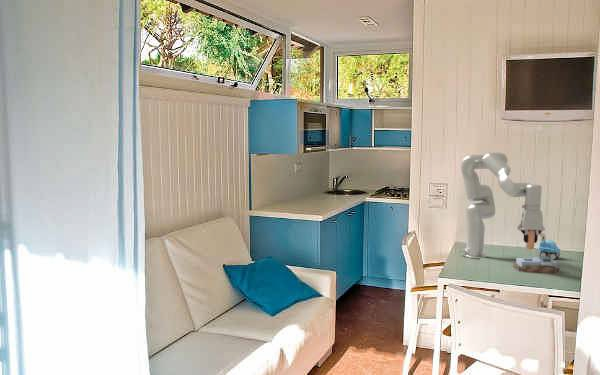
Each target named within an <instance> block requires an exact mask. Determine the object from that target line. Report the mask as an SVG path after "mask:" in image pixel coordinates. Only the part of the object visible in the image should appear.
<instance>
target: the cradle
mask: <svg viewBox="0 0 600 375" xmlns="http://www.w3.org/2000/svg"><path fill="white" fill-rule="evenodd" d="M512 267H513V268H514V269H515V270H516V271H517V272H519V273H530V274H531V273H537V274H557V275H558V274H562V273H561V272H560V268H559V267H558V266H557V270H556V267H552V266H524V268H523V271H521V267H520V266H518V265H517V264H516V262H513V263H512Z"/></svg>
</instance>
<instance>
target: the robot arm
mask: <svg viewBox="0 0 600 375" xmlns="http://www.w3.org/2000/svg"><path fill="white" fill-rule="evenodd" d="M487 169H488V170H489V171H490V172H491V173H492V174H494V176H496V178H497V183H498V186H499V188H500V189H501V190H502V191H503V192H504V193H505V194H506V195H508V197H511V198H521V197H525V198H524V205H521V208H522V209H523V211H522V214H521V219H520V224H519V225H518V226H517V230H518V231H520V232H521V233H522V234H523V242H524V243H525V244H526V243H527V242H528V235H527V232H528V230H535V242H534V244H537V242H538V237H539V236H540V235H539V234H540V233H541V232H544V231H546V228H545V226H544V221H543V220H544V218H543V211H542V210H541V205H542V185H540V184H536V183H528V182H514V181H512V179H510V178H509V176H510V173H511V171H512V170H511V167H510V166H509V165H508V157H507V155H506V154H505V153H503V152H493V151H492V152H488V153H485V154H469V155H466V156H465V157H464V158H463V159H462V160H461V163H460V170H461V175H462V177H463V178H462V179H463V183H464V188H465V195H466V198H467V200H469V201H471V202H476V203H471V204H470V205H468V206H467V209H466V218H467V233H466V247H464V248H458V249H457V252H458V253H461V254H463V256H464V257H465V258H469V259H475V260H476V259H479V260H480V259H485V258H487V256H486V254H485V253H484V247H485V230H486V229H485V228H486V227H485V223H484V220H488V219H491V218H493V217H495V214H496V205H495V199H494V194H493V190H492V189H491V187H490V186H489V185H487V184H481V181H480V177H479V175H478V173H477V172H476V171H475V170H487Z"/></svg>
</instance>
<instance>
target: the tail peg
mask: <svg viewBox="0 0 600 375" xmlns="http://www.w3.org/2000/svg"><path fill="white" fill-rule="evenodd" d="M527 235H528V242H527V243H526V242H525V248H526V249H527V250H528V249H529V250H533V249H535V243H534V242H535V230H528V232H527Z"/></svg>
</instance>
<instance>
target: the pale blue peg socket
mask: <svg viewBox="0 0 600 375" xmlns="http://www.w3.org/2000/svg"><path fill="white" fill-rule="evenodd" d="M515 261H516V262H515V263H516V264H517V265H518V266H520V267H521V271H523V268H524V266H552V267H556V270H557V267H558V262H556V261H555V260H552V259H551V258H549V257H547V256H540V255H539V257H538V256H532V257H531V258H530V257H516V260H515Z"/></svg>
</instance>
